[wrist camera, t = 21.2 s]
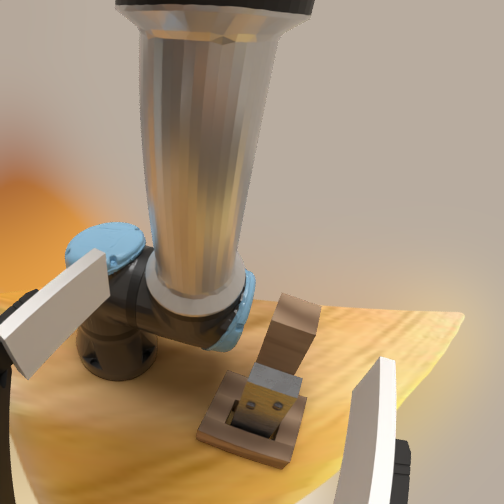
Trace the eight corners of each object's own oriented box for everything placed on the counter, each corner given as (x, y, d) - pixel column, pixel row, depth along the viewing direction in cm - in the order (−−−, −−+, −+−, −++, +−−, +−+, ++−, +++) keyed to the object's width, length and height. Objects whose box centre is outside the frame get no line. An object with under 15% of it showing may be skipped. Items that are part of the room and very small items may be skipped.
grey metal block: (263, 446, 39) (296, 400, 30) (226, 433, 40) (246, 383, 31) (269, 428, 42) (303, 376, 33) (234, 415, 43) (255, 360, 34)
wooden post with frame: (281, 469, 36) (331, 423, 26) (196, 438, 38) (205, 380, 28) (305, 382, 51) (345, 314, 41) (236, 357, 53) (256, 283, 43)
